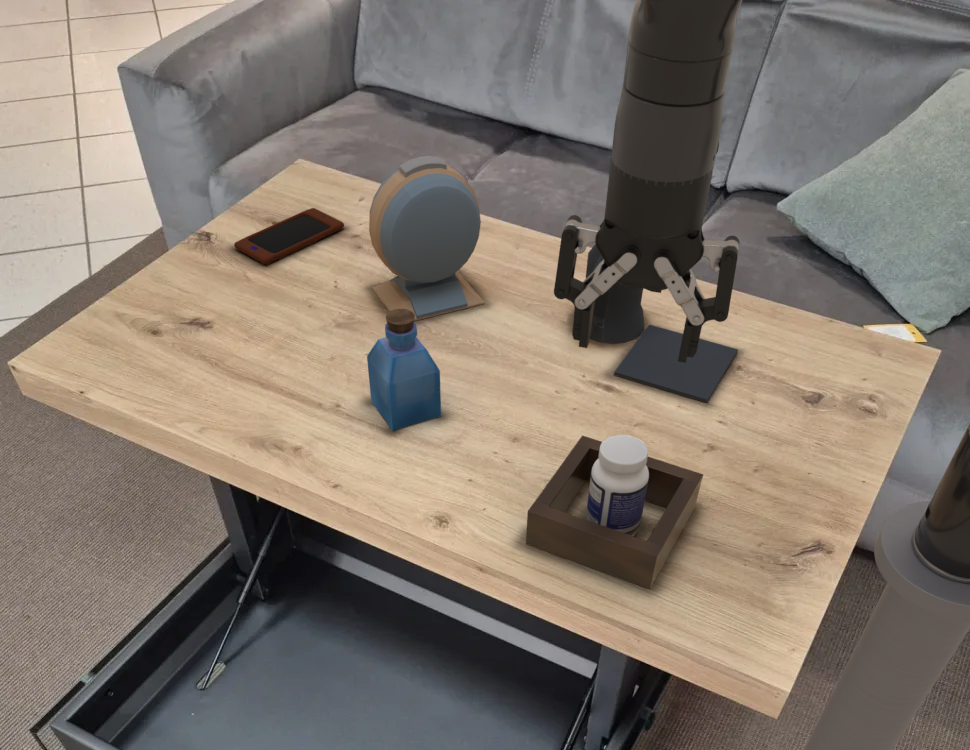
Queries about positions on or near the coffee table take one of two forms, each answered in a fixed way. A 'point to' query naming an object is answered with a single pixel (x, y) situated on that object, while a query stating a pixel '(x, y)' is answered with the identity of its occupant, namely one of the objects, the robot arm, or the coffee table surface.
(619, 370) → the rubber mat
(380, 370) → the perfume bottle
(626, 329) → the black vase
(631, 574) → the walnut box
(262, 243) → the smartphone
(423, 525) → the coffee table surface
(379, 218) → the alarm clock
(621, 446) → the pill bottle
